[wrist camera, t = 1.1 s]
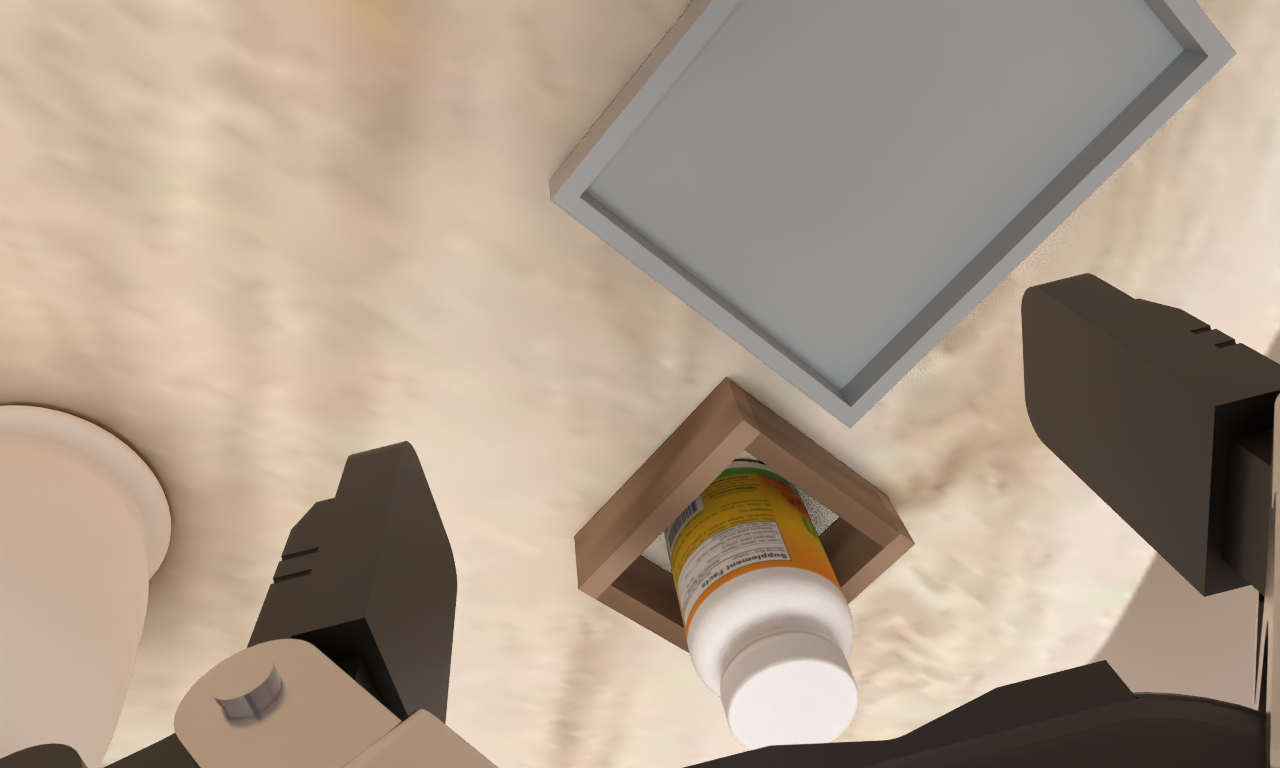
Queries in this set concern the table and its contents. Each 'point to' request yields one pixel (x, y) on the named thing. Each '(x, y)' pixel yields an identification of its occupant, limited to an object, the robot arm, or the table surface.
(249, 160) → the table surface
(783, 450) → the holder
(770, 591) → the supplement bottle
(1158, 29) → the tray
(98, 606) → the jar
